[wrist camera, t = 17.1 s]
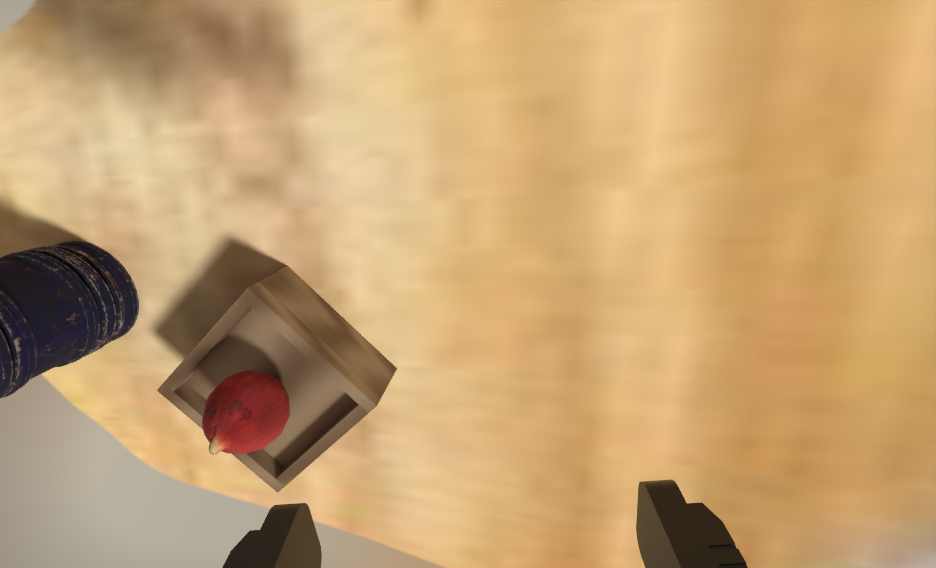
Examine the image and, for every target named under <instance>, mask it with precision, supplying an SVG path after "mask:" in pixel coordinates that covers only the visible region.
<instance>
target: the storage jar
mask: <svg viewBox="0 0 936 568" xmlns="http://www.w3.org/2000/svg"><path fill="white" fill-rule="evenodd" d="M138 311H139V300H138V295H137V290H136V288H135V285H134V283H133V281H132V279H131V277H130V275H129V274H128V272H127V271H126V269H125V268H124V267H123V266H122V264H121V263H120V262H119V261H118V260H117V259H116V258H114V257H113V256H112V255H111V254H109V253H108V252H107V251H105V250H103V249H101V248H99V247H98V246H95V245H92V244H90V243H85V242H79V241H72V242H65V243H61V244H58V245H55V246H49V247H39V248H34V249H30V250H26V251H22V252H17V253H11V254H9V255H6V256H4V257H1V258H0V398H3V397H6V396H9V395H11V394H12V393H14V392H15V391H17V390H18V389H19V388H21V387H23V386H24V385H25V384H26V383H27V382H28V381H29V380H30V379H31V378H33V377H36V376H38V375H40V374H42V373H44V372H46V371H48V370H50V369H52V368H54V367H60V366H64V365H67V364H69V363H73V362H75V361H77V360H79V359H81V358H82V357H84V356H87V355H89V354H91V353H93V352H95V351H97V350H98V349H100V348H102V347H103V346H104V345H106V344H107V343H109V342H111V341H113V340H115V339H117V338H119V337H121V336H123V335H125V334H126V333H127V332H129V331H130V329H131V328H132V327H133V326H134V324H135V322H136V320H137V316H138Z"/></svg>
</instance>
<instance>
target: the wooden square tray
mask: <svg viewBox="0 0 936 568" xmlns="http://www.w3.org/2000/svg"><path fill="white" fill-rule="evenodd" d="M252 370H254V371H259V372H264V373H267V374H269V375H271V376H272V377H274V378H276V379H278V380H279V381H280V382H281V384H282V385H283V386H284V387H285V389H286V391H287V393H288V396H289V407H290V416H289V418H288V420H287V423H286V425H285V427H284V429H283V431H282V433H281V434H280V435H279V436H278V437H277V438H276V439H275V440H273V441H272V442H271V443H269V444H268V445H267V446H266V447H264V448H262V449H260V450H257V451H253V452H249V453H245V454H233V455H234V456H235V457H236V458H237V459H239V460H240V461H241V462H242V463H243V464H245V465H246V466H247V467H248V468H249V469H250V470H252V471H253V472H254V473H255V474H256V475H258V476H259V477H260V478H261V479H262V480H263V481H265V482H266V483H267V484H268V485H269V486H271V487H272V488H273V489H274V490H275V491H276V492H279V491H280V490H281V489H282V488H284V487H285V486H286V485H287V484H288V483H289V482H290V481H292V480H293V479H294V478H295V477H296V476H297V475H298V474H300V473H301V472H302V471H303V470H304V469H305V468H306V467H308V466H309V465H310V464H311V463H312V462H313V461H314V460H316V459H317V458H318V457H319V456H320V455H321V454H322V453H324V452H325V451H326V450H327V449H328V448H329V447H330V446H332V445H333V444H334V443H335V442H336V441H337V440H338V439H339V438H341V437H342V436H343V435H344V434H345V433H346V432H347V431H349V430H350V429H351V428H352V427H353V426H354V425H355V424H357V423H358V422H359V421H360V420H361V419H362V418H363V417H365V416H366V415H367V414H368V413H369V412H370V411H371V410H373V409H374V408H375V407H376V406H377V404H378V403H379V401H380V399H381V397H382V395H383V393H384V392H385V390H386V388H387V386H388V384H389V382H390V381H391V379H392V377H393V375H394V373H395V371H396V370H397V368H396V367H395V366H394V365H393V364H392V363H391V362H389V361H388V360H387V359H386V358H385V357H384V356H383V355H382V354H381V353H380V352H379V351H378V350H377V349H376V348H375V347H374V346H372V345H371V344H370V343H369V342H368V341H367V340H366V339H365V338H364V337H363V336H362V335H361V334H360V333H359V332H358V331H356V330H355V329H354V328H353V327H352V326H351V325H350V324H349V323H348V322H347V321H346V320H345V319H344V318H343V317H342V316H341V315H339V314H338V313H337V312H336V311H335V310H334V309H333V308H332V307H331V306H330V305H329V304H328V303H327V302H326V301H325V300H323V299H322V298H321V297H320V296H319V295H318V294H317V293H316V292H315V291H314V290H313V289H312V288H311V287H310V286H309V285H308V284H306V283H305V282H304V281H303V280H302V279H301V278H300V277H299V276H298V275H297V274H296V273H295V272H294V271H293V270H292V269H291V268H289V267H288V266H285V267H284V268H282V269H280V270H278V271H276V272H275V273H273V274H271V275H269V276H268V277H266V278H264V279H262V280H260V281H259V282H257V283H255V284H253V285H252V286H250V287H248V288H247V289H246V290H245V291H244V292H243V293H242V295H241V296H240V297H239V298H238V299H237V300H236V301H235V303H234V304H233V305H232V306H231V307H230V308H229V309H228V310H227V312H226V313H225V314H224V315H223V316H222V317H221V318H220V320H219V321H218V322H217V323H216V324H215V325H214V326H213V327H212V329H211V330H210V331H209V332H208V333H207V334H206V335H205V337H204V338H203V339H202V340H201V341H200V342H199V343H198V344H197V346H196V347H195V348H194V349H193V350H192V351H191V352H190V353H189V355H188V356H187V357H186V358H185V359H184V360H183V361H182V363H181V364H180V365H179V366H178V367H177V368H176V369H175V370H174V372H173V373H172V374H171V375H170V376H169V377H168V378H167V380H166V381H165V382H164V383H163V384H162V385H161V386H160V387H159V389H158V390H157V391H158V392H159V393H161V394H162V395H163V396H164V397H165V398H166V399H168V400H169V401H170V402H171V403H172V404H174V405H175V406H176V407H177V408H178V409H179V410H181V411H182V412H183V413H184V414H185V415H187V416H188V417H189V418H190V419H191V420H192V421H194V422H195V423H196V424H197V425H198V426H200V427H201V428H202V429H203V427H202V417H203V413H204V409H205V404H206V401H207V399H208V397H209V394H210V393H211V392H212V391H213V390H214V389H215V388H216V387H217V386H218V385H219V384H220V383H221V382H222V381H223V380H224V379H225V378H227V377H229V376H231V375H233V374H236V373H240V372H243V371H252Z"/></svg>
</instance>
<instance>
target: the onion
mask: <svg viewBox="0 0 936 568" xmlns="http://www.w3.org/2000/svg"><path fill="white" fill-rule="evenodd" d="M289 416H290V407H289V396H288V393H287V391H286V389H285V387H284V386H283V385H282V384H281V382H280V381H279V380H278V379H276V378H274V377H272V376H271V375H269V374H267V373H264V372H259V371H254V370H252V371H243V372H240V373H236V374H233V375H231V376H229V377H227V378H225V379H224V380H223V381H222V382H221V383H220V384H219V385H218V386H217V387H216V388H215V389H214V390H213V391H212V392H211V393H210V394H209V397H208V399H207V401H206V404H205V409H204V413H203V417H202V427H203V431H204V434H205V436H206V438H207V439H208V441H209V442H210V445H209V451H210V453H211V454H213V455H214V454H217V453H218V452H219V451H223V452H225V453H232V454H245V453H249V452H253V451H257V450H260V449H262V448H264V447H266V446H267V445H268V444H269V443H271V442H272V441H273V440H275V439H276V438H277V437H278V436H279V435H280V434H281V433H282V431H283V429H284V427H285V425H286V423H287V420H288V418H289Z"/></svg>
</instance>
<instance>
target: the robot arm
mask: <svg viewBox="0 0 936 568" xmlns="http://www.w3.org/2000/svg"><path fill="white" fill-rule="evenodd" d="M636 530H637V539H638V545H639V549H640V553H641V556H642V559H643V562H644V565H645V567H646V568H747V566H746V562H745V560H744V558H743V557H742V555H741V553H740V551H739V550H738V548H736V546H735V543H734V541H733V539H732V538H731V536H730V534H729V532H728V531H727V529H726V527H725V525H724V524H723V522H722V521H721V520H720V519H719V518H718V517H717V516H716V515H715V514H714V513H712V512H711V511H710V510H709V509H708V508H707V507H706V506H705V505H704V504H703V503H690V504H687V503H686V501H685V499H684V497H683V495H682V493H681V491H680V489H679V487H678V486H677V484H676V483H675V481H673V480H660V481H645V482H640V483H639V488H638V506H637V525H636ZM223 568H321V546H320V542H319V539H318V536H317V533H316V530H315V526H314V523H313V519H312V516H311V513H310V509H309V507H308V505H307V504H306V503H299V504H284V505H274V506H273V507H272V508H271V509H270V511H269V513H268V515H267V517H266V519H265V521H264V523H263V525H262V527H261V529H260V530H253V531H249V532H248V533H247V534H246V535H245V536H244V538H243V539H242V540H241V541H240V542H239V543H238V544H237V545H236V546H235V547H234V548H233V550H232V551H231V552H230V554H229V556H228V558H227V560H226V562H225V564H224V566H223Z"/></svg>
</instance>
